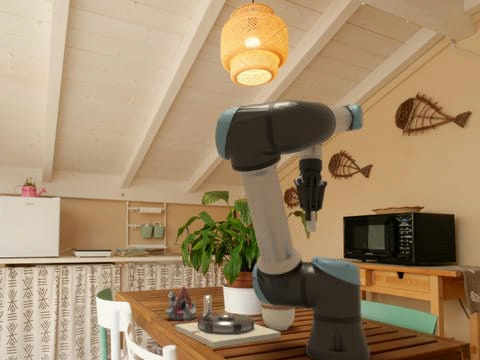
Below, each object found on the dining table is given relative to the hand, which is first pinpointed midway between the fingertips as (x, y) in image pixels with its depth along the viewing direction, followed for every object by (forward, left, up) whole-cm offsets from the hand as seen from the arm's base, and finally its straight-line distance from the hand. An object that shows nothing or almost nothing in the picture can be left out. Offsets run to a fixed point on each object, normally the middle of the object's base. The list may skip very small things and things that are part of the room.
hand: (311, 231), depth 132 cm
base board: (+9, +26, -30) cm, 41 cm away
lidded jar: (+7, +8, -31) cm, 32 cm away
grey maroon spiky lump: (+36, +28, -31) cm, 55 cm away
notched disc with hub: (+9, +26, -29) cm, 40 cm away
